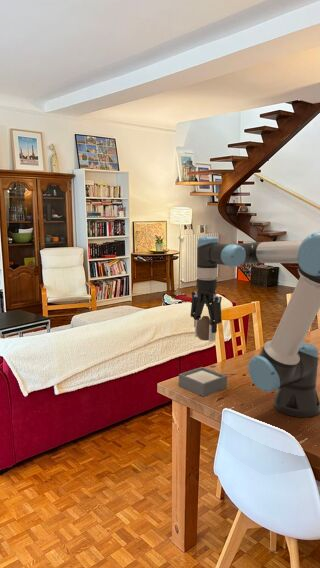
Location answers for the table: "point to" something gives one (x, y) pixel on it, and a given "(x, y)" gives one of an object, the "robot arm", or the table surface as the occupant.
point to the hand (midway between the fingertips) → (205, 338)
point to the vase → (203, 328)
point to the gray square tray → (202, 381)
